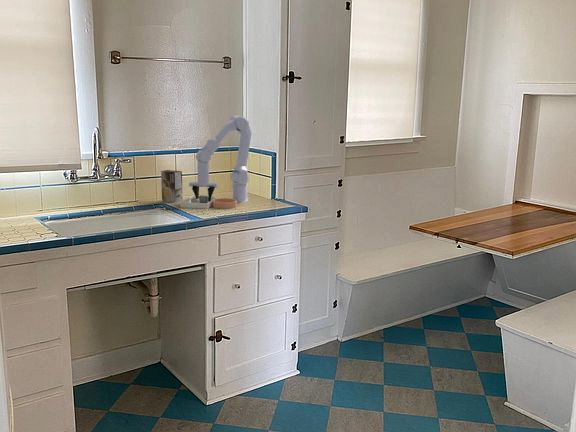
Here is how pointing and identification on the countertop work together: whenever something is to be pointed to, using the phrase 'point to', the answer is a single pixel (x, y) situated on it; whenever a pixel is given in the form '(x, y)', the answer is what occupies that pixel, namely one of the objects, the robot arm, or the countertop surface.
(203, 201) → the stone
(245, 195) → the robot arm
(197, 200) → the stone
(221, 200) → the bowl
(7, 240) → the countertop surface
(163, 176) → the coffee box
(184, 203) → the parts tray
